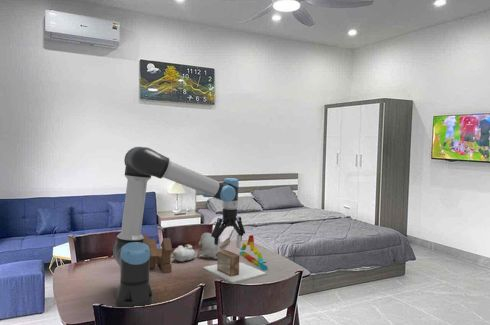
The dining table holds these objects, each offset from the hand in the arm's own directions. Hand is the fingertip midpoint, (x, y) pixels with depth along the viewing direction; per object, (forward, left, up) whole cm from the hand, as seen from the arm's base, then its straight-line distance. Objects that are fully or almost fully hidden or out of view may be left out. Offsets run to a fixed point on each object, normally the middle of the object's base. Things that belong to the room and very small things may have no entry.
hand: (227, 249), depth 189 cm
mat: (+5, +1, -13) cm, 14 cm away
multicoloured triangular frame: (+25, +8, -14) cm, 29 cm away
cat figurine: (-8, +32, -13) cm, 35 cm away
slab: (0, 0, -12) cm, 12 cm away
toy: (+8, +25, -13) cm, 29 cm away
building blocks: (-30, +28, -13) cm, 43 cm away
